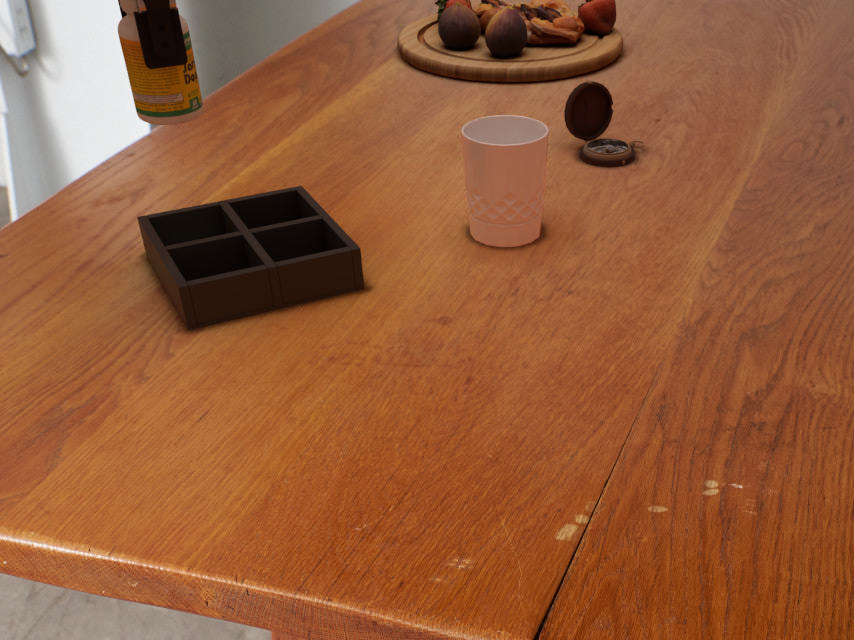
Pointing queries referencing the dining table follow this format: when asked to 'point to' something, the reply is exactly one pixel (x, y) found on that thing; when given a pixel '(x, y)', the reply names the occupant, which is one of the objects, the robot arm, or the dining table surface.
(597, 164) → the compass
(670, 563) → the dining table surface
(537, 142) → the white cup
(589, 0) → the wooden plate
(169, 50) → the robot arm
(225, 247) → the holder
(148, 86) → the supplement bottle
